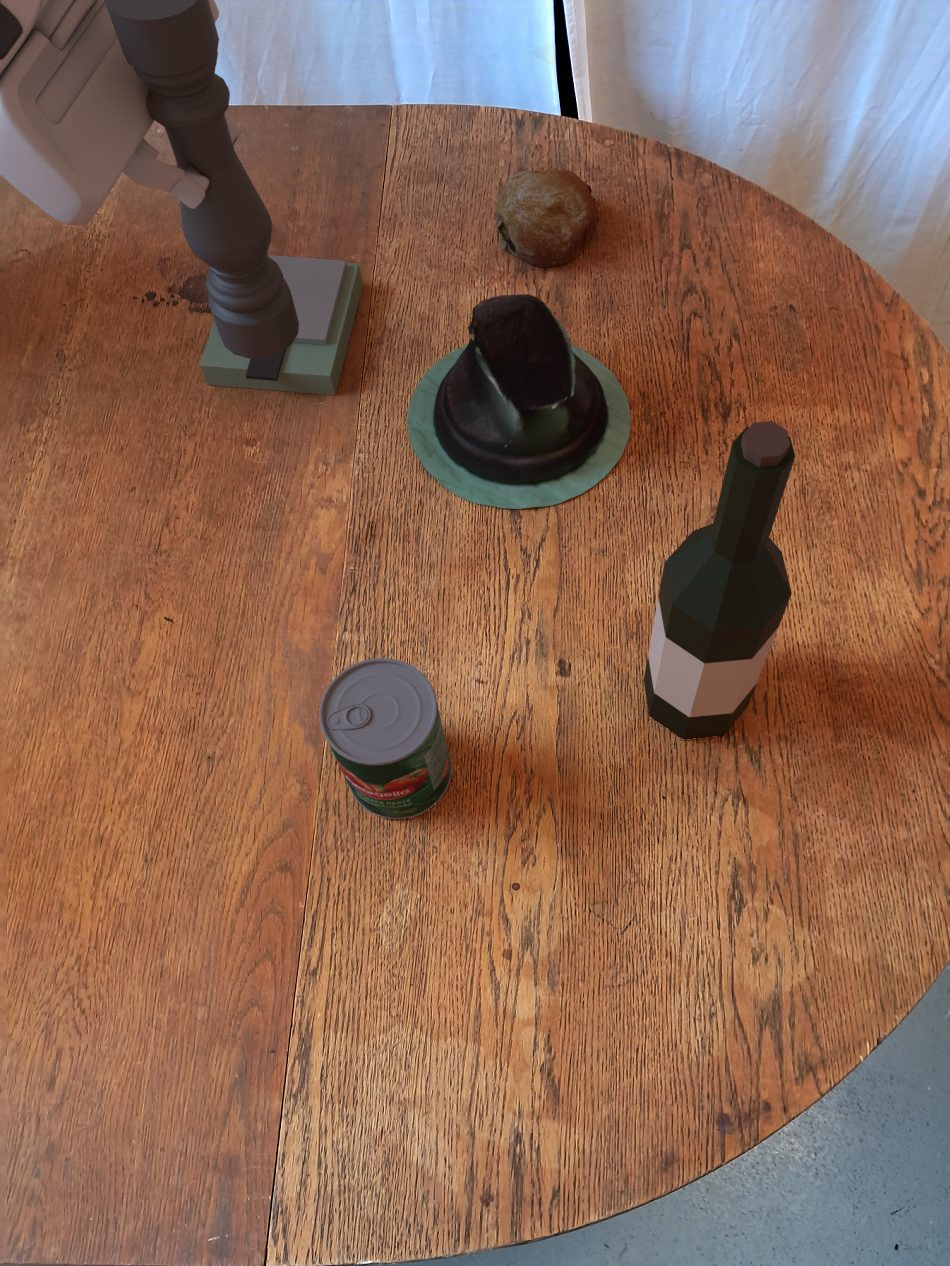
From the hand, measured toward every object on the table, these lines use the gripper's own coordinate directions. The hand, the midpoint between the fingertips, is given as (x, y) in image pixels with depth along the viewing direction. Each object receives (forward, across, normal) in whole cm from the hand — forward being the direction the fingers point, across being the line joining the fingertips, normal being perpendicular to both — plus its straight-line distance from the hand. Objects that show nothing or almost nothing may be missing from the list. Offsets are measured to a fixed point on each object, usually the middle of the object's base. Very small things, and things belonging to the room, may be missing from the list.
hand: (218, 171), depth 69 cm
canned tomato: (+32, +29, -5) cm, 43 cm away
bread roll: (+29, -30, -8) cm, 43 cm away
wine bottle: (+46, +17, +9) cm, 50 cm away
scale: (+15, -11, -23) cm, 29 cm away
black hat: (+32, -6, -6) cm, 33 cm away
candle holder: (+10, 0, -10) cm, 14 cm away
